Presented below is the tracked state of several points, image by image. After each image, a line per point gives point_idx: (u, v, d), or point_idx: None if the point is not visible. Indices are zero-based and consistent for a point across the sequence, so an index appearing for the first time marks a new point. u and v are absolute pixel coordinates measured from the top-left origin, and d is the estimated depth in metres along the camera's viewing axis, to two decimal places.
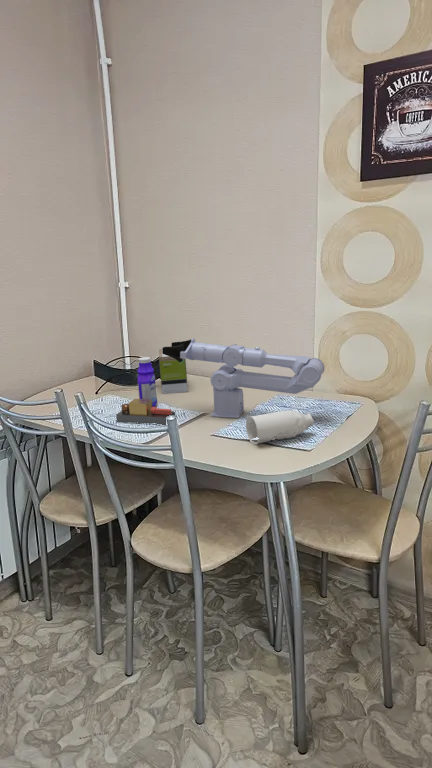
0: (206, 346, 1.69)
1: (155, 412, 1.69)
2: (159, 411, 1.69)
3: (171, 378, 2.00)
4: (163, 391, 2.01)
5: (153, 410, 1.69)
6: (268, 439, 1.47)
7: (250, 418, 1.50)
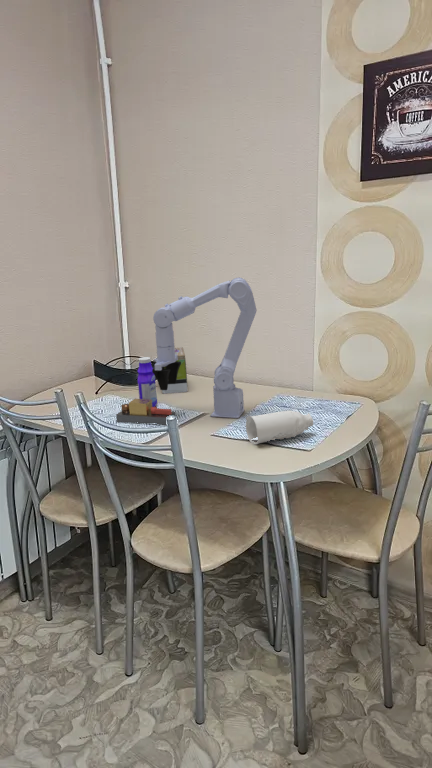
0: (157, 345, 1.68)
1: (155, 412, 1.69)
2: (159, 411, 1.69)
3: None
4: (163, 391, 2.01)
5: (153, 410, 1.69)
6: (268, 439, 1.47)
7: (250, 418, 1.50)
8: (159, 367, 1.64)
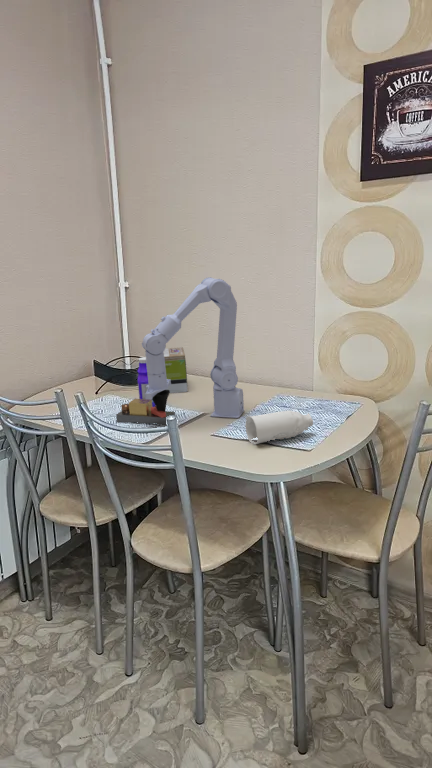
0: (150, 373, 1.61)
1: (153, 412, 1.69)
2: (155, 412, 1.68)
3: (171, 378, 2.00)
4: None
5: (151, 410, 1.69)
6: (267, 439, 1.46)
7: (249, 418, 1.50)
8: (150, 396, 1.59)
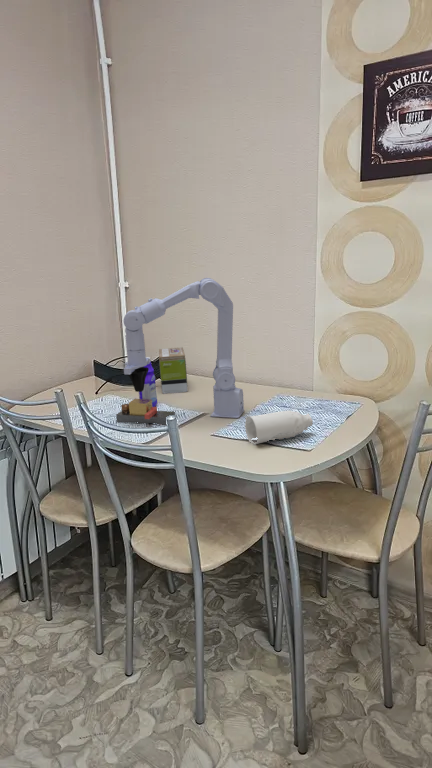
0: (128, 349, 1.64)
1: None
2: None
3: (171, 378, 2.00)
4: (163, 391, 2.01)
5: None
6: (267, 439, 1.47)
7: (249, 418, 1.50)
8: (128, 371, 1.61)
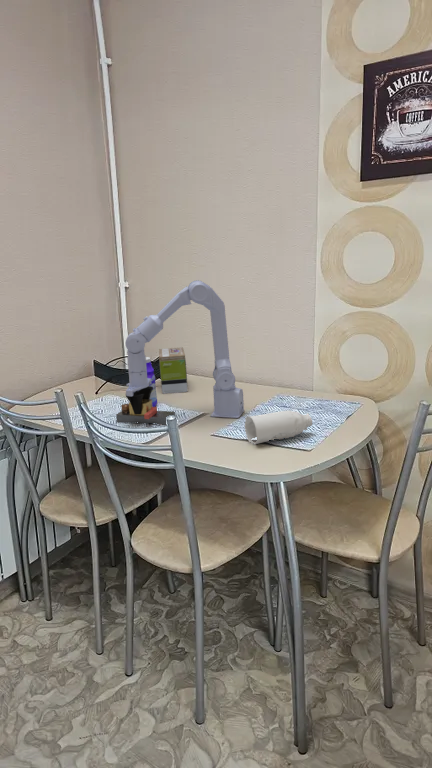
0: (129, 370, 1.66)
1: None
2: None
3: (171, 378, 2.00)
4: (163, 391, 2.01)
5: None
6: (267, 439, 1.47)
7: (249, 418, 1.50)
8: (130, 393, 1.63)
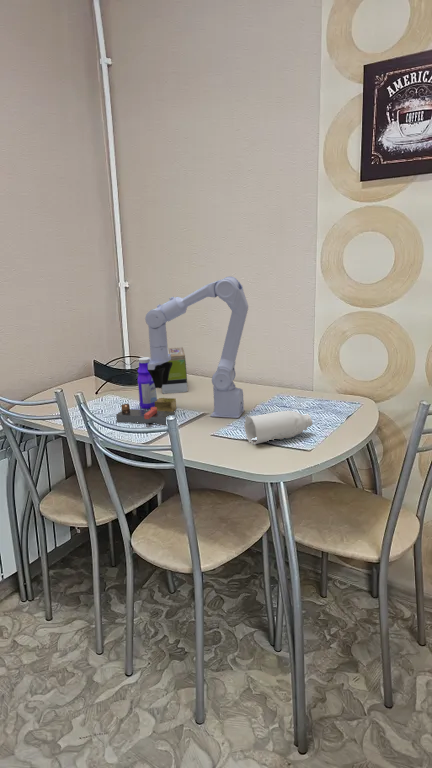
0: (150, 345, 1.72)
1: None
2: None
3: (171, 378, 2.00)
4: (163, 391, 2.01)
5: None
6: (267, 439, 1.47)
7: (249, 418, 1.50)
8: (152, 366, 1.67)
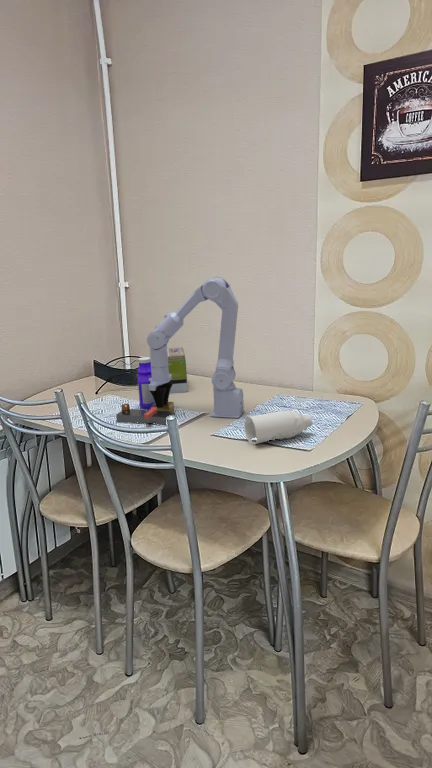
0: (151, 365, 1.73)
1: None
2: None
3: None
4: None
5: None
6: (266, 439, 1.47)
7: (248, 418, 1.50)
8: (153, 387, 1.69)
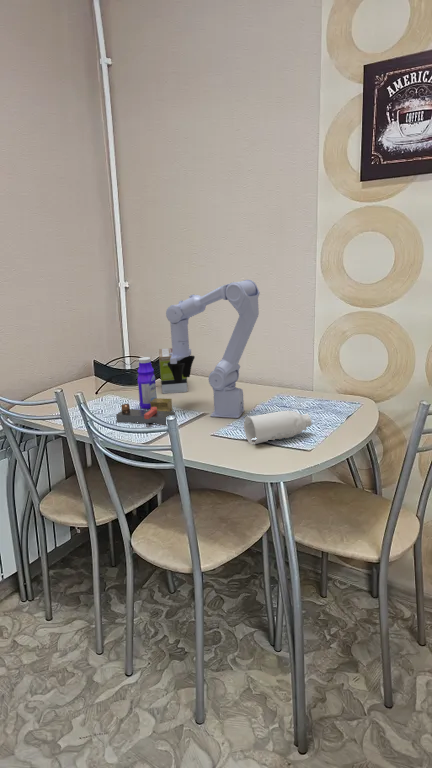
0: (171, 339, 1.77)
1: None
2: None
3: (171, 378, 2.00)
4: (163, 391, 2.01)
5: None
6: (266, 439, 1.47)
7: (248, 418, 1.50)
8: (174, 361, 1.72)
